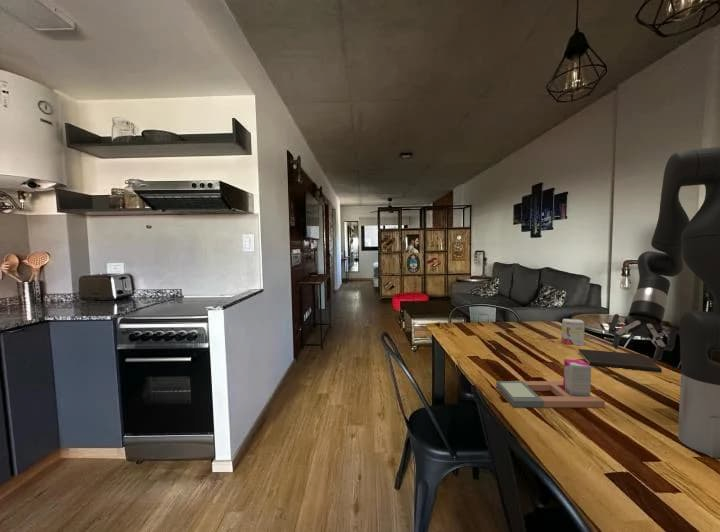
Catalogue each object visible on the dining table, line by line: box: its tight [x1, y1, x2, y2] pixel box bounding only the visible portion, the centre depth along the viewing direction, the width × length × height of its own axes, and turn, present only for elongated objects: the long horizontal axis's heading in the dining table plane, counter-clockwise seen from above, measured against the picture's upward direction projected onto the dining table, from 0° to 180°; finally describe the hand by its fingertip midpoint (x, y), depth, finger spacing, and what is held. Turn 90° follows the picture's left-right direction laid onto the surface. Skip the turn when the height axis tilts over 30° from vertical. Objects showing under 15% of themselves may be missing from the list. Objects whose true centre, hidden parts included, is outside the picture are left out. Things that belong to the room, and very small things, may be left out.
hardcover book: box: [578, 348, 663, 373], centre depth 130 cm, size 16×23×2 cm
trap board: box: [496, 380, 606, 409], centre depth 103 cm, size 14×27×2 cm, turn 87°
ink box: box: [561, 318, 585, 347], centre depth 154 cm, size 9×5×12 cm, turn 67°
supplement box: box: [563, 358, 592, 396], centre depth 102 cm, size 6×6×12 cm
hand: (635, 353), depth 88 cm, fingers open, 8 cm apart
